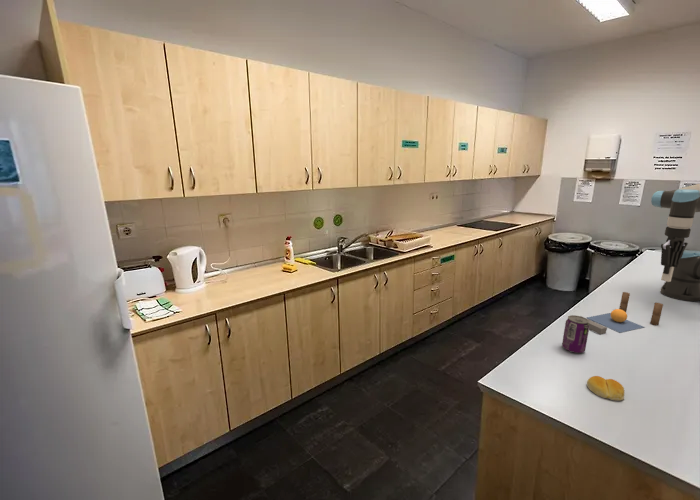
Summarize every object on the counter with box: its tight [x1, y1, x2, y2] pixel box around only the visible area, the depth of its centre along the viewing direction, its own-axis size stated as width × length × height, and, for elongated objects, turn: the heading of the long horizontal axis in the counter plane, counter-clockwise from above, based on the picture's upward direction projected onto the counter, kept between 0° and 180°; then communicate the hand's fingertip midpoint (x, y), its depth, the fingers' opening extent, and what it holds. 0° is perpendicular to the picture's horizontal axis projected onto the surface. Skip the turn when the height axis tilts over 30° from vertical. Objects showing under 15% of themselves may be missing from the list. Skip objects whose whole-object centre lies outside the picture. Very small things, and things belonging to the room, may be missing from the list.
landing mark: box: [586, 312, 645, 334], centre depth 141 cm, size 14×14×1 cm
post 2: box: [649, 302, 664, 326], centre depth 139 cm, size 3×3×9 cm
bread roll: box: [586, 375, 626, 402], centre depth 99 cm, size 8×9×4 cm
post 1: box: [618, 291, 631, 313], centre depth 150 cm, size 3×3×9 cm
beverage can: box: [561, 314, 590, 354], centre depth 121 cm, size 7×7×12 cm
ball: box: [610, 308, 628, 322], centre depth 142 cm, size 6×6×6 cm
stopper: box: [580, 315, 608, 335], centre depth 137 cm, size 3×11×2 cm, turn 18°
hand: (665, 280), depth 145 cm, fingers closed
